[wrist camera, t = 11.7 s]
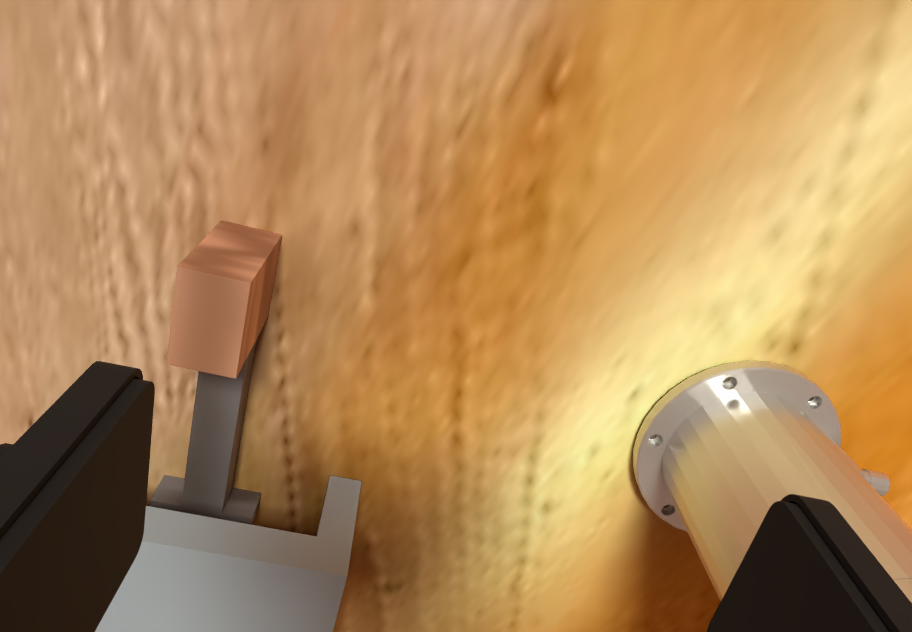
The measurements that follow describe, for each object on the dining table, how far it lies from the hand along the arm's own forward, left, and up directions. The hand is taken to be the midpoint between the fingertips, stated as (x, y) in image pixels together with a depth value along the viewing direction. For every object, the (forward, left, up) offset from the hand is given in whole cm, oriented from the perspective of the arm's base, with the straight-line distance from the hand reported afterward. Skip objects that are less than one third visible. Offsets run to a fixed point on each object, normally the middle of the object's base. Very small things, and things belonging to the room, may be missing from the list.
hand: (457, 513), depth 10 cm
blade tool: (+9, +16, -28) cm, 33 cm away
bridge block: (+9, +25, -28) cm, 39 cm away
